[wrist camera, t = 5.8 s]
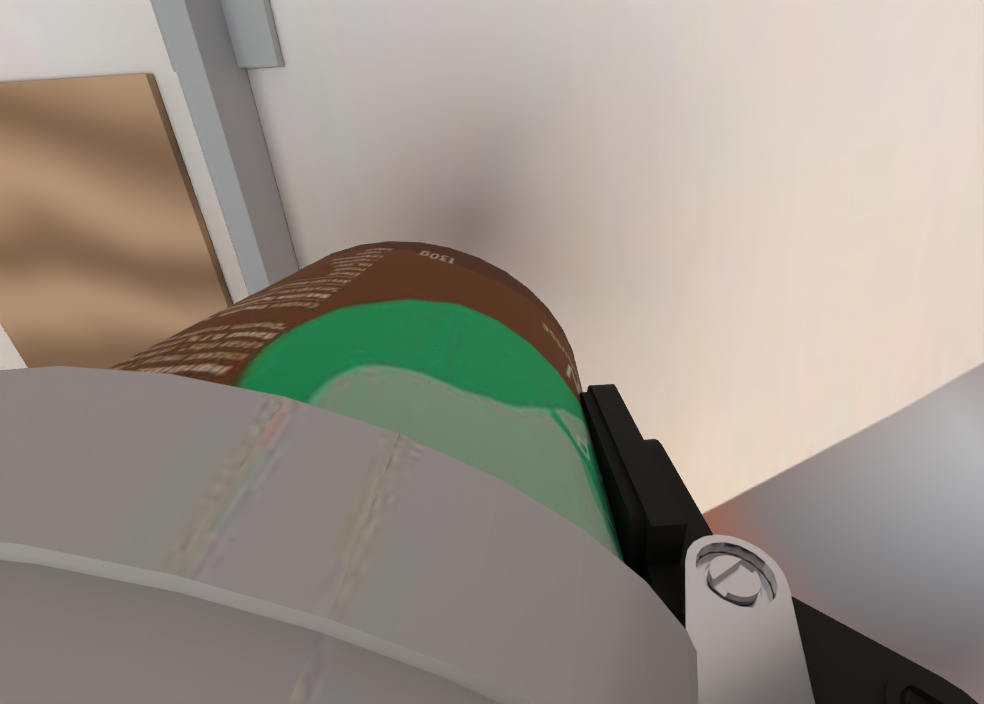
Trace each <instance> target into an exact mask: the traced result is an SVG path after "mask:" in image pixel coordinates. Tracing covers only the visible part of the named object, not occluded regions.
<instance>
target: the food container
mask: <svg viewBox="0 0 984 704" xmlns="http://www.w3.org/2000/svg"><path fill="white" fill-rule="evenodd" d="M581 392H582V387H581V383H580V379H579V375H578V371H577V367H576V363H575V359H574V354H573V351H572V349H571V346H570V344H569V342H568V340H567V338H566V335H565V333H564V331H563V329H562V328H561V326H560V325H559V323H558V322H557V320H556V319H555V318H554V316H553V315H552V313H551V312H550V310H549V309H548V308H547V307H546V306H545V305H544V304H543V303H542V302H541V301H540V300H539V299H538V298H537V297H536V296H535V295H534V294H533V293H532V292H531V291H530V290H529V289H528V288H527V287H526V286H524V285H523V284H522V283H520V282H519V281H517V280H516V279H515V278H513V277H512V276H511V275H509V274H508V273H507V272H505V271H503V270H501V269H499V268H497V267H495V266H493V265H492V264H490V263H488V262H486V261H484V260H482V259H480V258H478V257H475V256H472V255H469V254H466V253H463V252H460V251H457V250H454V249H451V248H447V247H442V246H437V245H431V244H426V243H420V242H393V241H389V242H381V243H373V244H364V245H359V246H356V247H352V248H349V249H346V250H342V251H339V252H336V253H332V254H330V255H328V256H326V257H325V258H323V259H321V260H319V261H317V262H315V263H313V264H311V265H309V266H307V267H305V268H303V269H301V270H299V271H297V272H295V273H293V274H291V275H290V276H288V277H286V278H284V279H282V280H280V281H278V282H276V283H274V284H272V285H270V286H268V287H266V288H264V289H262V290H260V291H258V292H257V293H255V294H253V295H251V296H249V297H247V298H245V299H243V300H241V301H239V302H237V303H235V304H233V305H231V306H229V307H227V308H225V309H223V310H222V311H220V312H218V313H216V314H214V315H212V316H210V317H208V318H206V319H204V320H202V321H200V322H198V323H196V324H194V325H192V326H190V327H188V328H187V329H185V330H183V331H181V332H179V333H177V334H175V335H173V336H171V337H169V338H167V339H165V340H163V341H161V342H159V343H157V344H155V345H154V346H152V347H150V348H148V349H146V350H144V351H142V352H140V353H138V354H136V355H134V356H132V357H130V358H128V359H126V360H124V361H122V362H120V363H119V364H117V365H115V366H113V367H111V368H109V369H96V368H82V367H68V366H50V367H37V368H25V369H12V370H0V704H698V671H697V651H696V649H695V647H694V645H693V643H692V641H691V638H690V636H689V634H688V632H687V630H686V629H685V628H684V627H683V626H682V624H681V623H680V622H679V621H678V620H677V618H676V617H675V616H674V615H673V613H672V612H671V611H670V610H669V609H668V607H667V606H666V605H665V604H664V603H663V601H662V600H661V599H660V598H659V597H658V595H657V594H656V593H655V592H654V590H653V589H652V588H651V587H650V586H649V584H648V583H647V582H646V581H645V580H644V579H642V578H641V577H640V576H639V575H638V574H636V573H635V572H634V571H633V570H632V569H630V568H629V567H628V566H627V565H626V564H624V560H623V556H622V552H621V548H620V544H619V540H618V536H617V532H616V527H615V523H614V519H613V515H612V511H611V507H610V503H609V500H608V496H607V492H606V489H605V485H604V481H603V478H602V474H601V471H600V467H599V463H598V460H597V456H596V453H595V449H594V445H593V442H592V438H591V435H590V431H589V427H588V424H587V420H586V416H585V413H584V409H583V406H582V402H581V398H580V393H581Z"/></svg>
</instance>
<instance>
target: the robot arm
mask: <svg viewBox="0 0 984 704" xmlns="http://www.w3.org/2000/svg"><path fill="white" fill-rule="evenodd" d="M580 398H581V402H582V406H583V409H584V413H585V416H586V420H587V424H588V427H589V431H590V435H591V438H592V442H593V445H594V449H595V453H596V456H597V460H598V463H599V467H600V471H601V474H602V478H603V481H604V485H605V489H606V492H607V496H608V500H609V503H610V507H611V511H612V515H613V519H614V523H615V527H616V532H617V536H618V540H619V544H620V548H621V552H622V556H623V560H624V564H626V565H627V566H628V567H629V568H630V569H632V570H633V571H634V572H635V573H636V574H638V575H639V576H640V577H641V578H642V579H644V580H645V581H646V582H647V583H648V584H649V586H650V587H651V588H652V589H653V590H654V592H655V593H656V594H657V595H658V597H659V598H660V599H661V600H662V601H663V603H664V604H665V605H666V606H667V607H668V609H669V610H670V611H671V612H672V613H673V615H674V616H675V617H676V618H677V620H678V621H679V622H680V623H681V624H682V626H683V627H684V628H685V629H686V630H687V632H688V634H689V636H690V638H691V641H692V643H693V645H694V647H695V649H696V651H697V671H698V704H978V703H977V702H976V701H975V700H974V699H972V698H971V697H970V696H969V695H968V694H967V693H965V692H964V691H963V690H961V689H959V688H958V687H956V686H955V685H953V684H951V683H950V682H948V681H947V680H945V679H944V678H942V677H940V676H938V675H936V674H935V673H933V672H931V671H929V670H927V669H925V668H924V667H922V666H920V665H918V664H916V663H914V662H912V661H911V660H909V659H907V658H905V657H903V656H901V655H899V654H898V653H896V652H894V651H892V650H890V649H888V648H887V647H885V646H883V645H881V644H879V643H877V642H875V641H874V640H872V639H870V638H868V637H866V636H864V635H862V634H861V633H859V632H857V631H855V630H853V629H851V628H849V627H847V626H846V625H844V624H842V623H840V622H838V621H836V620H835V619H833V618H831V617H829V616H827V615H825V614H823V613H822V612H820V611H818V610H816V609H814V608H812V607H810V606H809V605H807V604H805V603H803V602H801V601H799V600H797V599H796V598H794V597H792V596H791V593H790V589H789V585H788V583H787V580H786V578H785V575H784V573H783V572H782V570H781V569H780V568H779V567H778V565H777V564H776V563H775V561H774V560H773V559H772V558H770V557H769V556H768V555H767V554H766V553H764V552H763V551H762V550H761V549H759V548H757V547H756V546H754V545H752V544H750V543H748V542H746V541H744V540H741V539H738V538H735V537H732V536H724V535H713V533H712V532H711V530H710V528H709V527H708V525H707V523H706V521H705V519H704V518H703V516H702V514H701V512H700V511H699V509H698V507H697V505H696V504H695V502H694V500H693V498H692V497H691V495H690V493H689V492H688V490H687V488H686V486H685V485H684V483H683V481H682V479H681V478H680V476H679V474H678V472H677V471H676V469H675V467H674V465H673V464H672V462H671V460H670V458H669V457H668V455H667V453H666V451H665V450H664V448H663V446H662V445H661V443H660V442H659V441H658V440H656V439H649V440H644V439H643V438H642V436H641V434H640V432H639V430H638V428H637V426H636V424H635V422H634V420H633V419H632V417H631V415H630V413H629V411H628V409H627V407H626V405H625V403H624V401H623V399H622V398H621V396H620V394H619V392H618V390H617V388H616V386H615V385H614V384H607V385H591V386H589V387H588V390H587V392H581V393H580Z"/></svg>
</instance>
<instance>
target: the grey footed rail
mask: <svg viewBox="0 0 984 704" xmlns="http://www.w3.org/2000/svg"><path fill="white" fill-rule="evenodd" d="M151 4H152V7H153V10H154V13H155V16H156V19H157V22H158V25H159V28H160V31H161V34H162V37H163V40H164V43H165V46H166V49H167V52H168V55H169V58H170V61H171V65H172V68H173V71H174V72H177V75H178V78H179V81H180V84H181V87H182V90H183V93H184V96H185V99H186V102H187V105H188V109H189V112H190V115H191V118H192V121H193V124H194V127H195V130H196V133H197V136H198V139H199V142H200V145H201V148H202V152H203V155H204V158H205V161H206V164H207V167H208V170H209V173H210V176H211V179H212V182H213V185H214V188H215V191H216V195H217V198H218V201H219V204H220V207H221V210H222V213H223V216H224V219H225V222H226V225H227V228H228V231H229V234H230V238H231V241H232V244H233V247H234V250H235V253H236V256H237V259H238V262H239V265H240V268H241V271H242V274H243V277H244V281H245V284H246V287H247V290H248V293H249V296H251V295H253V294H255V293H257V292H258V291H260V290H262V289H264V288H266V287H268V286H270V285H272V284H274V283H276V282H278V281H280V280H282V279H284V278H286V277H288V276H290V275H291V274H293V273H295V272H297V271H299V269H298V265H297V261H296V257H295V253H294V250H293V246H292V242H291V238H290V234H289V231H288V227H287V223H286V219H285V215H284V212H283V208H282V204H281V200H280V196H279V193H278V189H277V185H276V181H275V177H274V174H273V170H272V166H271V162H270V158H269V155H268V151H267V147H266V143H265V139H264V136H263V132H262V128H261V124H260V120H259V117H258V113H257V109H256V105H255V101H254V98H253V94H252V90H251V86H250V82H249V79H248V75H247V71H246V69H252V68H268V67H284V63H283V59H282V54H281V50H280V46H279V41H278V37H277V33H276V28H275V24H274V20H273V15H272V11H271V6H270V2H269V0H151Z"/></svg>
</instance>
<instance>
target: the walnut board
mask: <svg viewBox="0 0 984 704" xmlns="http://www.w3.org/2000/svg"><path fill="white" fill-rule="evenodd" d="M231 305H233V303H232V300H231V297H230V295H229V292H228V289H227V286H226V283H225V280H224V277H223V274H222V271H221V269H220V266H219V263H218V260H217V257H216V254H215V251H214V248H213V246H212V243H211V240H210V237H209V234H208V231H207V228H206V225H205V222H204V220H203V217H202V214H201V211H200V208H199V205H198V202H197V199H196V197H195V194H194V191H193V188H192V185H191V182H190V179H189V176H188V174H187V171H186V168H185V165H184V162H183V159H182V156H181V153H180V150H179V148H178V145H177V142H176V139H175V136H174V133H173V130H172V127H171V125H170V122H169V119H168V116H167V113H166V110H165V107H164V104H163V101H162V99H161V96H160V93H159V90H158V87H157V84H156V81H155V78H154V76H153V74H132V75H116V76H99V77H83V78H67V79H50V80H34V81H18V82H1V83H0V323H1V325H2V327H3V328H4V330H5V331H6V333H7V335H8V336H9V338H10V339H11V341H12V343H13V344H14V346H15V348H16V349H17V351H18V352H19V354H20V356H21V357H22V359H23V360H24V362H25V364H26V365H27V367H28V368H37V367H50V366H68V367H82V368H96V369H109V368H111V367H113V366H115V365H117V364H119V363H120V362H122V361H124V360H126V359H128V358H130V357H132V356H134V355H136V354H138V353H140V352H142V351H144V350H146V349H148V348H150V347H152V346H154V345H155V344H157V343H159V342H161V341H163V340H165V339H167V338H169V337H171V336H173V335H175V334H177V333H179V332H181V331H183V330H185V329H187V328H188V327H190V326H192V325H194V324H196V323H198V322H200V321H202V320H204V319H206V318H208V317H210V316H212V315H214V314H216V313H218V312H220V311H222V310H223V309H225V308H227V307H229V306H231Z"/></svg>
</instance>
